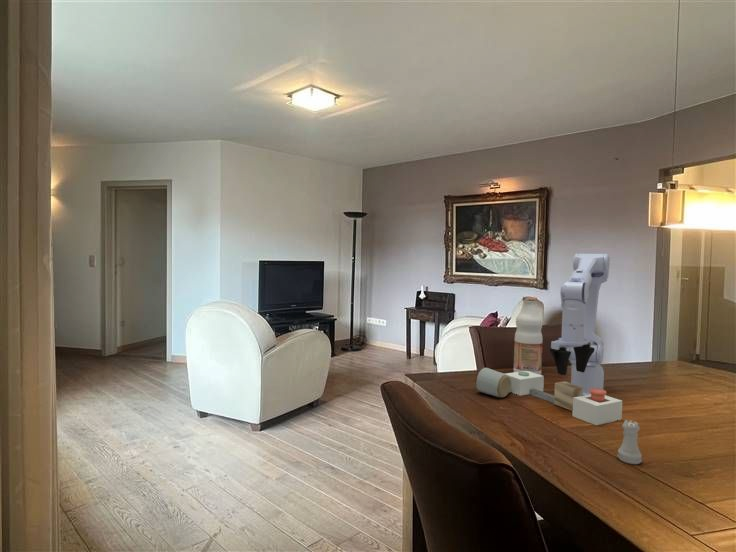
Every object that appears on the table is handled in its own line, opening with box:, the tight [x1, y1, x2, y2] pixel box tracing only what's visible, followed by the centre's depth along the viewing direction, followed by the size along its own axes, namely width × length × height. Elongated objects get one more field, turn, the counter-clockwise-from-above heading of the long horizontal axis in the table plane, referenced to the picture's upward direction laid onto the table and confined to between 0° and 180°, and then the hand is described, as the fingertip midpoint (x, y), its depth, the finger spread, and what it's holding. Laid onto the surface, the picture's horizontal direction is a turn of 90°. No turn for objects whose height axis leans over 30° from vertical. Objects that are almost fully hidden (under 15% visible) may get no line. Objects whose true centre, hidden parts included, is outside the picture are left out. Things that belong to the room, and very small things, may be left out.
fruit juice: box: [513, 296, 544, 375], centre depth 157 cm, size 9×9×28 cm
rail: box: [529, 389, 554, 404], centre depth 127 cm, size 2×18×2 cm, turn 26°
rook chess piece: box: [616, 419, 643, 465], centre depth 91 cm, size 4×4×8 cm
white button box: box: [505, 371, 545, 396], centre depth 138 cm, size 10×7×6 cm
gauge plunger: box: [589, 388, 607, 403], centre depth 115 cm, size 4×4×4 cm
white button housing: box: [571, 394, 623, 426], centre depth 115 cm, size 10×7×5 cm
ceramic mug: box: [475, 367, 511, 399], centre depth 134 cm, size 11×8×8 cm
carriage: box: [553, 381, 583, 412], centre depth 123 cm, size 4×6×6 cm, turn 26°
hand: (571, 372), depth 122 cm, fingers open, 7 cm apart
